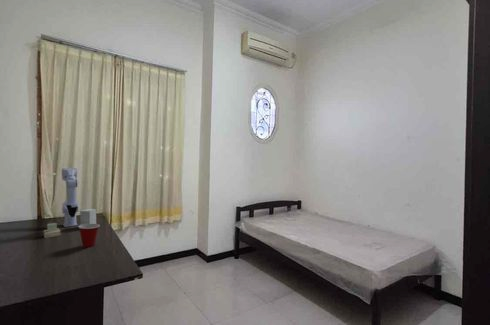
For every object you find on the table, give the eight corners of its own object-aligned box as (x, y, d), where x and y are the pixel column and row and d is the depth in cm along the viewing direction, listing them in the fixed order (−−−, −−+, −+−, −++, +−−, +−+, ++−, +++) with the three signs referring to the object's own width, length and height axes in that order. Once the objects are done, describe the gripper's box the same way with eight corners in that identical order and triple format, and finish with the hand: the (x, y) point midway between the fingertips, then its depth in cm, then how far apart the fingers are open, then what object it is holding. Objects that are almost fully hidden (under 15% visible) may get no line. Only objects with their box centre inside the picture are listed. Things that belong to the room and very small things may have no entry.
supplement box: (96, 225, 188) (96, 209, 188) (89, 228, 181) (89, 211, 181) (87, 225, 189) (87, 208, 189) (80, 228, 182) (79, 210, 182)
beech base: (43, 235, 165) (43, 230, 165) (58, 232, 171) (58, 228, 171) (44, 238, 159) (44, 233, 159) (60, 235, 165) (60, 230, 165)
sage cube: (47, 230, 165) (47, 223, 165) (55, 229, 168) (55, 222, 168) (48, 232, 162) (48, 225, 162) (56, 230, 165) (56, 224, 165)
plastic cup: (102, 245, 148) (102, 225, 147) (80, 250, 140) (80, 228, 140) (96, 241, 155) (96, 221, 155) (76, 245, 147) (76, 225, 147)
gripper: (63, 195, 180) (63, 214, 180) (66, 198, 169) (66, 218, 170) (75, 195, 185) (75, 213, 185) (78, 197, 174) (78, 217, 174)
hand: (71, 215), depth 178 cm, fingers open, 7 cm apart
